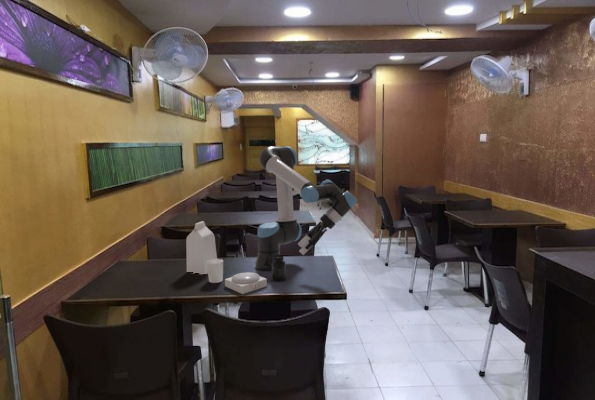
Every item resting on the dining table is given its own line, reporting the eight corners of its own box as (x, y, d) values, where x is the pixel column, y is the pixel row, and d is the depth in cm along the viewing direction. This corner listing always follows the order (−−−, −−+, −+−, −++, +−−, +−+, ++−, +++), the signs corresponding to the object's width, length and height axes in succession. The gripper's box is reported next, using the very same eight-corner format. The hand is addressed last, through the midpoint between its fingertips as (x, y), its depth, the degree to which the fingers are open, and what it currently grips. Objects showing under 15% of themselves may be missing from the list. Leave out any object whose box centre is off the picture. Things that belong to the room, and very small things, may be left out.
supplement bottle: (270, 278, 203) (270, 254, 201) (284, 276, 205) (283, 253, 203) (273, 282, 196) (273, 258, 195) (287, 281, 198) (286, 257, 196)
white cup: (226, 279, 203) (226, 259, 201) (218, 284, 196) (217, 264, 194) (213, 277, 205) (212, 258, 204) (204, 282, 198) (203, 262, 197)
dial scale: (225, 286, 193) (224, 276, 192) (249, 279, 202) (249, 270, 201) (243, 294, 182) (242, 284, 181) (267, 286, 191) (267, 277, 191)
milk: (205, 274, 210) (202, 225, 206) (186, 272, 214) (183, 224, 211) (217, 267, 221) (215, 220, 217) (200, 265, 225) (197, 219, 222)
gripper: (339, 229, 185) (307, 261, 187) (332, 218, 210) (304, 247, 212) (328, 217, 184) (295, 251, 186) (322, 208, 209) (293, 238, 211)
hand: (300, 249), depth 199 cm, fingers open, 13 cm apart
